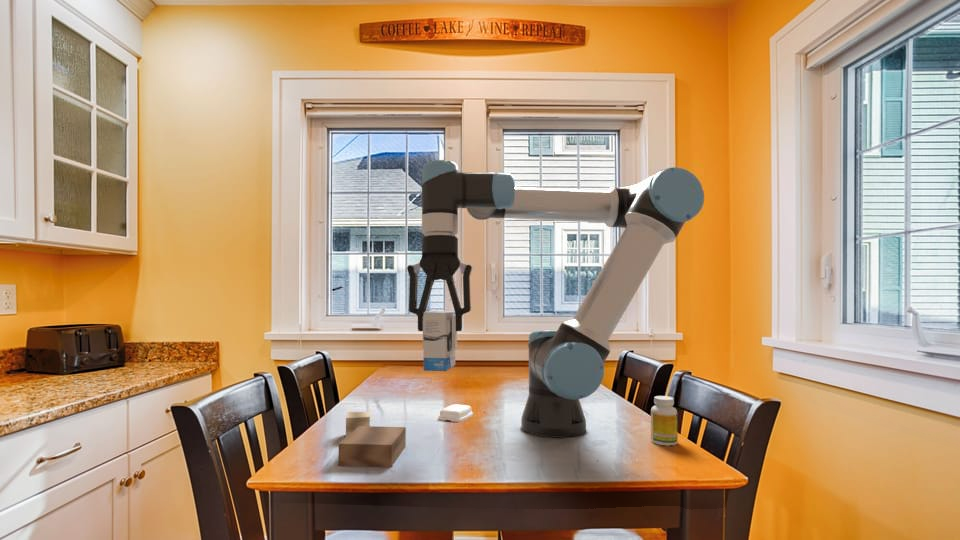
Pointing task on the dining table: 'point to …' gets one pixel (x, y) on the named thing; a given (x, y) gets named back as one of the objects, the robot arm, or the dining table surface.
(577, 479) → the dining table surface
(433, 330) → the ink box
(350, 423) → the maple cube
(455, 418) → the soap
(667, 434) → the supplement bottle
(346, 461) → the walnut block
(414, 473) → the dining table surface
